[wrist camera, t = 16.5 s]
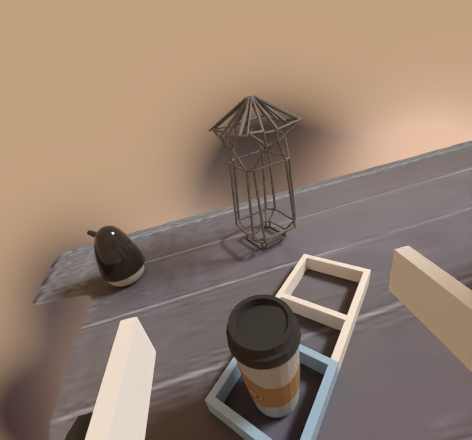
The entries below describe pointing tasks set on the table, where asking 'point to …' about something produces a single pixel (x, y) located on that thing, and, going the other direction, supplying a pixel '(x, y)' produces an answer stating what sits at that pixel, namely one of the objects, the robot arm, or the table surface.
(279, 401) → the coffee cup
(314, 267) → the gap frame
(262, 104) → the geometric lantern
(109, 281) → the pump dispenser
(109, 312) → the table surface
